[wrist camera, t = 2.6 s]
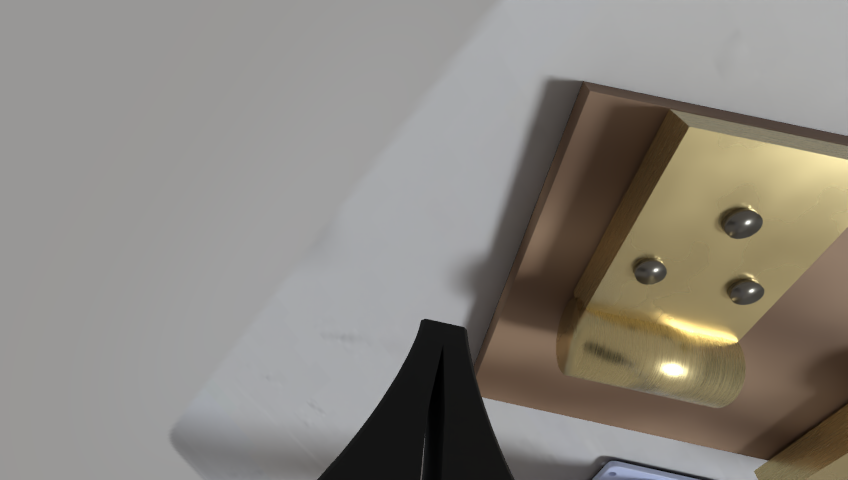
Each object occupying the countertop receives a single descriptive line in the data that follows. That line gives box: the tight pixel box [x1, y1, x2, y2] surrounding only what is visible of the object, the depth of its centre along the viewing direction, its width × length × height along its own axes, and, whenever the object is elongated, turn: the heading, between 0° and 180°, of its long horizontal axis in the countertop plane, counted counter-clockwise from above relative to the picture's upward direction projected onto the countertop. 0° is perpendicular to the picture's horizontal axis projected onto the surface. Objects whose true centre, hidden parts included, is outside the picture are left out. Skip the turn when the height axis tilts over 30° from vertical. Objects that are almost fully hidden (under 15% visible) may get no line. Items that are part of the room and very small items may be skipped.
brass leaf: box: [556, 109, 848, 408], centre depth 15 cm, size 11×6×3 cm, turn 171°
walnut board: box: [474, 81, 848, 460], centre depth 18 cm, size 17×24×1 cm
